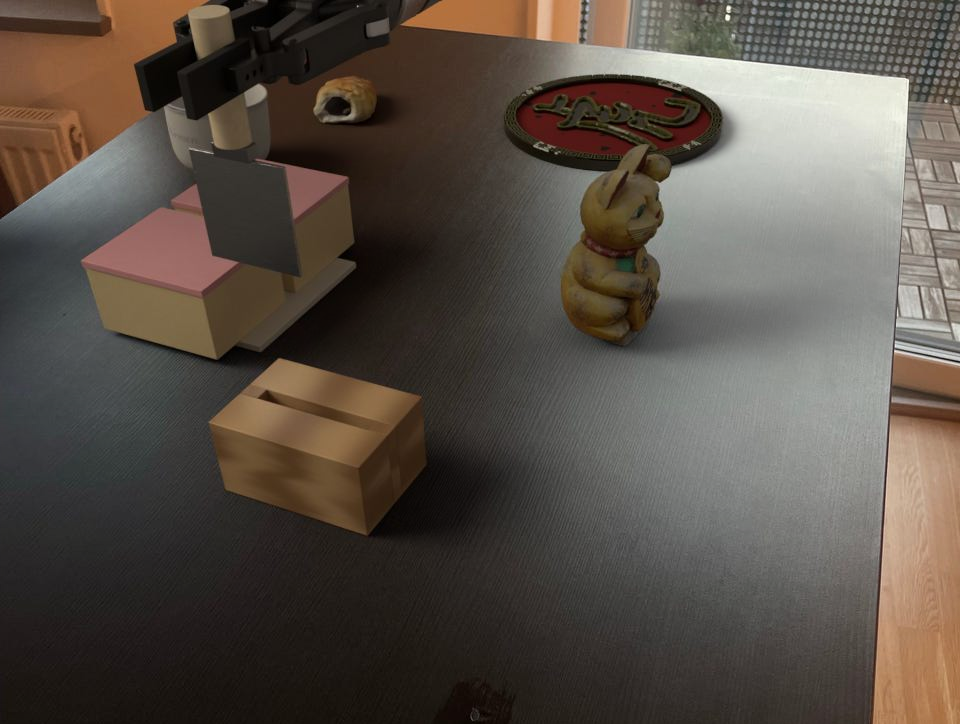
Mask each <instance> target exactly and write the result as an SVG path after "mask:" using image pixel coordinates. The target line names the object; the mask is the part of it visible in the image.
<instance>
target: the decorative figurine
mask: <svg viewBox="0 0 960 724" xmlns="http://www.w3.org/2000/svg"><path fill="white" fill-rule="evenodd" d="M650 148H651V146H650V145H647V144H643V145H639V146H636V147H634V148H633V149H631V150H629V151H628V152H627V154H626V155H625V156H624V157H623V159H622V160H621V162H620V164H619V166H618V168H617V170H613V171H606V172H605V173H602V174H600V175H599V176H598V177H596V178H594V180H593V181H592V182H591V183H590V184H589V186H588V187H587V189H586V190H585V192H584V194H583V197H582V199H581V202H580V207H579V216H580V221H581V224H582V226H583V229H584V230H582V232H581V234H580V235H579V238H580V240H579V241H578V242H576V244H575V245H574V246H573V247H572V248H571V249H570V251H569V253H568V254H567V256H566V259H565V261H564V264H563V267H562V271H561V274H560V296H561V302H562V306H563V310H564V312H565V314H566V316H567V319H568V320H569V322H570V323H571V324H572V326H574V328H576V329H577V330H578V331H580V332H582V333H584V334H586V335H589V336H590V337H594V338H598V339H602V340H603V341H605V342H609V343H613V344H615V345H619V346H624V347H625V346H628V344H630V342H632V341H633V340H635V339H636V337H637V335H638V334H639V333H640V332H641V331H642V330H643V328H644V327H645V326H646V325H647V324H648V322H649V320H650V319H651V317H652V315H653V313H654V310H655V306H656V303H657V301H658V300H659V297H660V291H659V289H658V284H659V282H660V279H661V266H660V264H659V262H658V259H656V257H654V256H653V255H651V254H650V253H648V250H647V248H646V244H648V243H649V242H650V240H651V239H653V238H654V237H655V236H656V234H657V232H658V229H659V228H660V227H662V225H663V223H664V218H665V212H664V209H663V205H662V201H661V199H660V189H661V188H660V186H659V184H660V183H662V182H664V181H665V180H667V179H669V178H670V176H671V173H672V168H673V167H672V165H671V163H670V161H669V159H668V158H666V157H665V156H663V155H659V154H652V155H648V153H649V151H650ZM647 155H648V156H647Z"/></svg>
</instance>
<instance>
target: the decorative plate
mask: <svg viewBox="0 0 960 724" xmlns="http://www.w3.org/2000/svg"><path fill="white" fill-rule="evenodd" d="M723 115H724V114H723V112H722V110H721V108H720V107H719V105H718V104H717V103H716V102H715V101H714V100H713V99H712V98H710V97H709V96H707V94H704V93H703V92H701V91H699V90H697V89H696V88H692V87H689V86H687V85H684V84H682V83H678V82H675V81H671V80H667V79H663V78H656V77H653V76H644V75H635V74H625V73H624V74H623V73H622V74H621V73H620V74H618V73H604V74H603V73H598V74H597V73H595V74H584V75H575V76H568V77H563V78H556V79H555V80H549V81H545V82H542V83H539V84H537V85H534V86H531V87H530V88H527V89H525V90H524V91H521V92H520V93H518V94H517V95H516V96H514V98H512V99H511V100H510V101H509V102H508V103H507V106H506V108H505V110H504V112H503V130H504V134H505V135H506V138H507V139H508V140H509V141H510V143H512V144H513V146H515V147H517V149H519V150H521V151H522V152H524V153H526V154H528V155H530V156H531V157H534V158H537V159H539V160H542V161H544V162H548V163H551V164H554V165H559V166H563V167H567V168H573V169H579V170H586V169H588V171H590V170H589V169H593V170H592V171H596V170H604V171H603V172H609V171H613V170H617V168H618V166H619V164H620V162H621V160H622V159H623V157H624V156H625V155H626V154H627V152H628V151H629V150H631V149H633V148H634V147H636V146H639V145H643V144H647V145H650V146H651V148H650V151H649V153H648V155H652V154H659V155H663V156H665V157H666V158H668V159H669V161H670V163H671V166H675V165H679V164H682V163H685V162H687V161H690V160H694V159H695V158H697V157H699V156H702V155H703V154H705V153H707V152H708V151H710V150H711V149H712V148H713V147H715V145H717V143H719V141H720V138H721V137H722V134H723V127H724V116H723ZM648 155H647V156H648Z"/></svg>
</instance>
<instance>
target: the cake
mask: <svg viewBox="0 0 960 724" xmlns="http://www.w3.org/2000/svg"><path fill="white" fill-rule="evenodd" d="M255 160H256V161H261V162H266V163H271V164H275V165H280V166H285V167H286V173H287V179H288V186H289V192H290V199H291V205H292V212H293V218H294V225H295V231H296V238H297V244H298V251H299V257H300V264H301V270H302V277H296V276H292V275H288V274H284V273H280V272H276V271H272V270H268V269H264V268H260V267H256V266H252V265H248V264H244V263H240V262H235V261H231V260H227V259H223V258H219V257H215V256H212V252H211V248H210V243H209V239H208V234H207V230H206V225H205V220H204V216H203V211H202V207H201V202H200V198H199V193H198V189H197V184H196V183H195V184H193V185H192V186H190V187H189V188H187V189H186V190H184V191H183V192H181V193H180V194H178V195H177V196H175V197H174V198H172V199H171V200H170V203H171V206H172V207H173V208H174V209H171V208H167V207H163V206H160V207H158V208H157V209H156V210H154V211H153V212H151V213H150V214H148V215H147V216H145V217H144V218H142V219H141V220H139V221H138V222H136V223H134V224H133V225H131V226H130V227H129V228H127V229H126V230H124V231H123V232H122V233H119V234H118V235H116V236H115V237H113V238H112V239H111V240H109V241H108V242H106V243H105V244H103V245H102V246H101V247H99V248H97V249H96V250H94V251H93V252H91V253H90V254H88V255H87V256H85V257H84V258H82V259H81V260H80V263H81V266H82V268H85V272H86V275H87V279H88V281H89V285H90V288H91V291H92V293H93V297H94V300H95V304H96V306H97V310H98V313H99V316H100V318H101V322H102V325H103V328H104V329H106V330H109V331H113V332H116V333H120V334H123V335H127V336H130V337H134V338H137V339H142V340H144V341H149V342H152V343H155V344H158V345H162V346H166V347H169V348H173V349H177V350H180V351H184V352H188V353H191V354H195V355H198V356H202V357H205V358H210V359H212V360H220V359H221V358H222V357H223V356H224V355H225V354H227V352H229V351H230V350H231V349H232V348H233V347H234V346H236V347H239V348H243V349H246V350H250V351H254V352H257V353H262V352H264V351H265V349H266V348H268V347H269V346H270V345H271V344H272V343H273V342H274V341H275V340H277V339H278V338H279V337H280V336H281V335H283V333H284V332H285V331H287V330H288V329H289V328H290V327H291V326H292V325H294V324H295V322H297V321H298V320H299V319H300V318H301V317H303V316H304V315H305V314H306V313H307V312H309V310H310V309H311V308H313V307H314V306H315V305H316V304H317V303H318V302H320V300H322V299H323V298H324V297H325V296H326V295H327V294H329V293H330V292H331V291H332V290H333V289H335V287H337V286H338V285H339V284H340V283H341V282H342V281H343V280H344V279H346V278H347V277H348V276H349V275H350V274H351V273H352V272H354V270H355V269H357V264H356V261H353V260H348V259H343V258H339V257H340V256H341V255H342V254H343V253H344V252H346V250H348V249H349V248H350V247H351V246H352V245H354V244H355V236H354V227H353V218H352V209H351V201H350V200H351V199H350V191H349V190H350V189H349V184H350V177H349V176H345V175H341V174H335V173H332V172H331V173H330V172H326V171H320V170H315V169H310V168H304V167H301V166H296V165H291V164H286V163H280V162H277V161H276V162H275V161H271V160H266V159H265V160H261V159H255Z"/></svg>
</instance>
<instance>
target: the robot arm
mask: <svg viewBox="0 0 960 724" xmlns="http://www.w3.org/2000/svg"><path fill="white" fill-rule="evenodd" d="M442 1H443V0H208V1H206V2H204V3H203V4H201V5H199V6H198V7H200V6H206V5H221V6H225V7H227V8H229V10H230V14H231V20H232V26H233V31H234V37H235V41H233V42H232V43H230V44H228V45H226V46H224V47H222V48H220V49H219V50H217V51H215V52H213V53H211V54H209V55H207V56H206V57H204V58H202V59H200V60H198V61H197V56H196V51H195V46H194V41H193V36H192V31H191V26H190V21H189V16H188V13H186V14H184V15H183V16H181V17H179V18H178V19H176V20H174V21H173V22H172V26H173V30H174V35H175V40H176V42H174V43H172V44H170V45H168V46H166V47H164V48H162V49H160V50H159V51H157V52H155V53H152V54H150V55H149V56H147V57H144V58H142V59H141V60H139V61H137V62H134V63H133V67H134V71H135V75H136V81H137V84H138V89H139V92H140V97H141V100H142V105H143V108H144V111H147V112H151V113H156V112H157V111H159V110H161V109H162V108H163V109H164V106H166V105H168V104H170V103H171V102H173V101H175V100H177V99H179V98H180V97H183V102H184V107H185V111H186V116H187V119H191V120H196V121H197V120H199V119H200V118H202V117H204V116H205V115H207V114H209V113H210V112H212V111H214V110H215V109H217V108H219V107H220V106H222V105H224V104H225V103H227V102H229V101H231V100H232V99H234V98H236V97H237V96H239V95H241V94H242V93H244V92H246V91H247V90H249V89H251V88H252V87H254V86H256V85H257V84H261V83H262V84H266V85H272V84H275V83H277V82H278V81H280V80H281V79H282V78H283V77H287V82H288V84H290V85H294V86H300V85H302V84H306V83H308V82H309V81H311V80H313V79H315V78H317V77H319V76H321V75H323V74H324V73H327V72H329V71H330V70H333V69H334V68H336V67H339V66H341V65H342V64H344V63H346V62H347V61H350V60H353V59H354V58H356V57H358V56H360V55H362V54H364V53H367V52H368V51H372V50H377V49H380V48H385V47H387V46H389V45H391V32H392V31H393V30H395V29H397V28H399V27H400V26H401V25H403V24H404V23H406V22H407V21H409V20H411V19H412V18H415V17H416V16H417V15H419V14H422V13H424V12H425V11H426V10H428V9H430V8H431V7H433V6H434V5H436V4H438V3H439V2H442ZM305 60H306V61H305Z"/></svg>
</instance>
